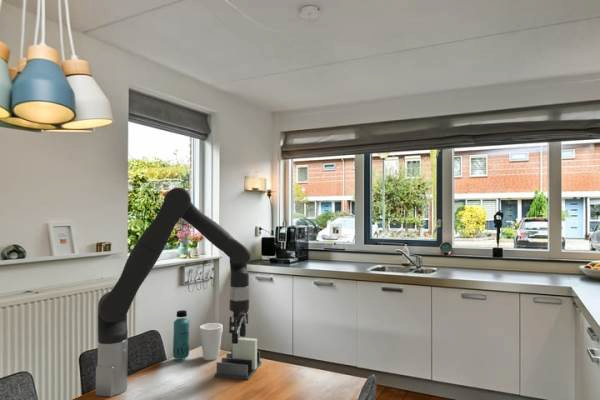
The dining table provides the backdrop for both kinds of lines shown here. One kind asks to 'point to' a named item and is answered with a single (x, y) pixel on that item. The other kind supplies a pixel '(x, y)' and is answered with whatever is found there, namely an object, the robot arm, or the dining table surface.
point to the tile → (246, 350)
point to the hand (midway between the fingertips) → (238, 339)
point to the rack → (236, 367)
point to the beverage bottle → (181, 336)
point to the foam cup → (211, 340)
